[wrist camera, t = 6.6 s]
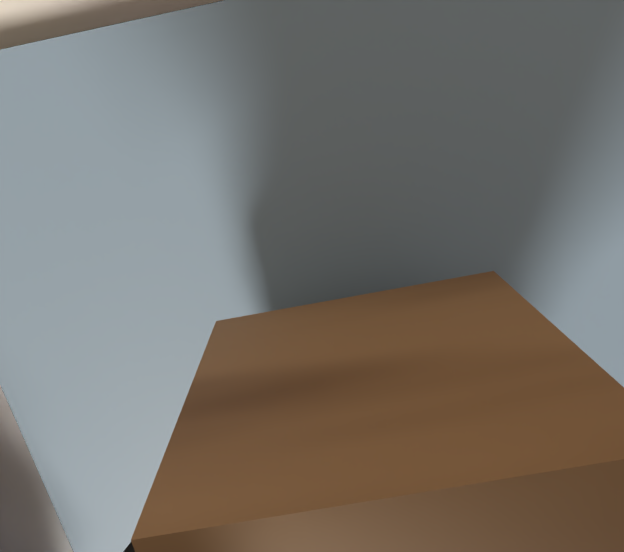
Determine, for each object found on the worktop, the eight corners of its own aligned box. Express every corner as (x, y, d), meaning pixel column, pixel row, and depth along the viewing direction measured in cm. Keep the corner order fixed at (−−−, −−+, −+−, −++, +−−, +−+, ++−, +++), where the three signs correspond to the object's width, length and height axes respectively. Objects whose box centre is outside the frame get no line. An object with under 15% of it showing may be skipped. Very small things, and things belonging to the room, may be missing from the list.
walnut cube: (511, 498, 11) (673, 806, 6) (273, 537, 11) (251, 865, 6) (493, 270, 9) (691, 448, 5) (215, 321, 10) (130, 540, 5)
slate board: (695, 564, 15) (711, 583, 14) (135, 658, 15) (129, 679, 15) (721, -103, 10) (747, -116, 9) (-111, 80, 10) (-134, 78, 10)
